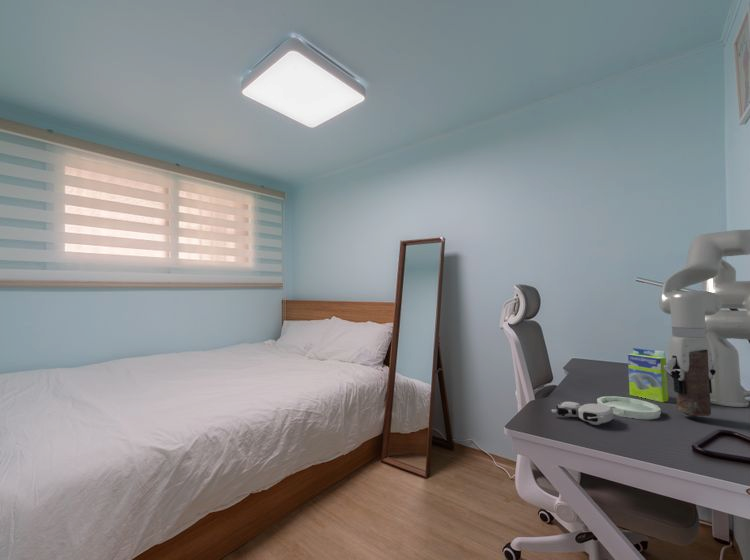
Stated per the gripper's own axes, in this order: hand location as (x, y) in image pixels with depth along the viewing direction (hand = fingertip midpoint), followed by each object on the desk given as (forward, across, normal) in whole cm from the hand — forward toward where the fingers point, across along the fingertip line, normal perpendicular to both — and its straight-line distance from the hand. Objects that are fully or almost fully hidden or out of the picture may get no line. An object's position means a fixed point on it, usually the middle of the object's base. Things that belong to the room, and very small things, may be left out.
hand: (692, 392), depth 100 cm
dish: (+8, +14, -9) cm, 18 cm away
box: (+9, -4, -21) cm, 23 cm away
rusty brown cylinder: (+7, 0, 0) cm, 7 cm away
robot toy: (+8, +32, -3) cm, 34 cm away
